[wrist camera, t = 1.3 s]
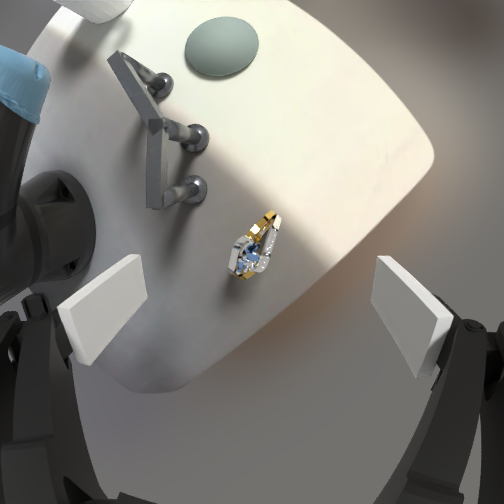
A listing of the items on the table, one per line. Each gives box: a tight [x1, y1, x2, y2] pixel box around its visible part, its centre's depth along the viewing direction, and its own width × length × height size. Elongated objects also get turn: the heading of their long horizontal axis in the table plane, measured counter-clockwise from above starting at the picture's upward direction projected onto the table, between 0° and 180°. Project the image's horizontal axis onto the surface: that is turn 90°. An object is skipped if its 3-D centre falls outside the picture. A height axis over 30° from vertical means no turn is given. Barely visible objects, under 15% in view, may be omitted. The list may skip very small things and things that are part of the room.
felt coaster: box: [185, 17, 259, 76], centre depth 23 cm, size 8×8×1 cm
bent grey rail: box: [107, 50, 209, 210], centre depth 22 cm, size 8×15×10 cm, turn 177°
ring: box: [227, 210, 281, 280], centre depth 25 cm, size 7×3×8 cm, turn 141°
